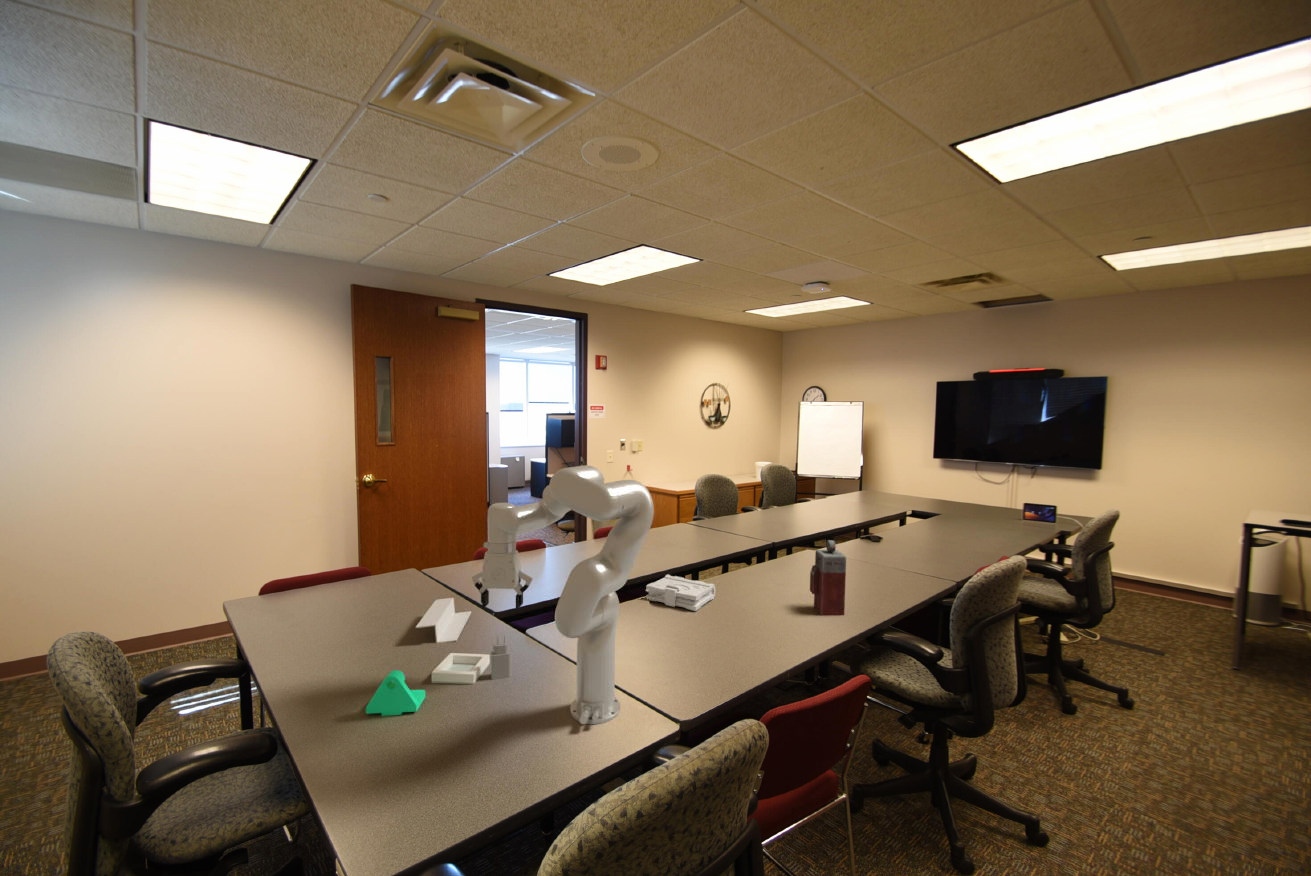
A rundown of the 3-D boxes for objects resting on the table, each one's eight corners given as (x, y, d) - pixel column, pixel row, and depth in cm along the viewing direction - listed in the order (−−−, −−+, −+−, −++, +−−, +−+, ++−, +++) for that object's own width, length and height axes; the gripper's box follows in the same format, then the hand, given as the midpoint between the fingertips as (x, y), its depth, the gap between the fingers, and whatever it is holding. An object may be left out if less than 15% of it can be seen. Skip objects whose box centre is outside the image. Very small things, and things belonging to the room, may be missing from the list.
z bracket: (417, 645, 173) (415, 627, 173) (437, 616, 198) (435, 599, 198) (456, 640, 175) (454, 622, 175) (471, 612, 200) (469, 595, 199)
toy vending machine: (807, 607, 210) (809, 537, 208) (836, 608, 210) (838, 537, 208) (814, 616, 201) (817, 543, 199) (844, 616, 201) (847, 543, 199)
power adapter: (511, 678, 152) (511, 637, 151) (491, 680, 151) (491, 639, 150) (510, 673, 155) (510, 632, 154) (491, 675, 153) (491, 634, 153)
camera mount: (426, 698, 141) (426, 661, 141) (416, 715, 134) (415, 675, 133) (378, 700, 140) (378, 662, 139) (366, 717, 132) (365, 677, 132)
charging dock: (473, 684, 148) (473, 674, 148) (431, 682, 149) (431, 672, 149) (489, 664, 160) (489, 654, 160) (450, 662, 161) (450, 652, 161)
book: (659, 585, 235) (659, 568, 234) (717, 598, 220) (717, 580, 220) (634, 598, 218) (634, 580, 218) (695, 613, 204) (695, 593, 203)
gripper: (466, 549, 148) (466, 609, 149) (528, 551, 147) (527, 612, 148) (477, 542, 155) (477, 600, 156) (536, 544, 154) (535, 602, 155)
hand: (502, 606), depth 152 cm, fingers open, 9 cm apart
